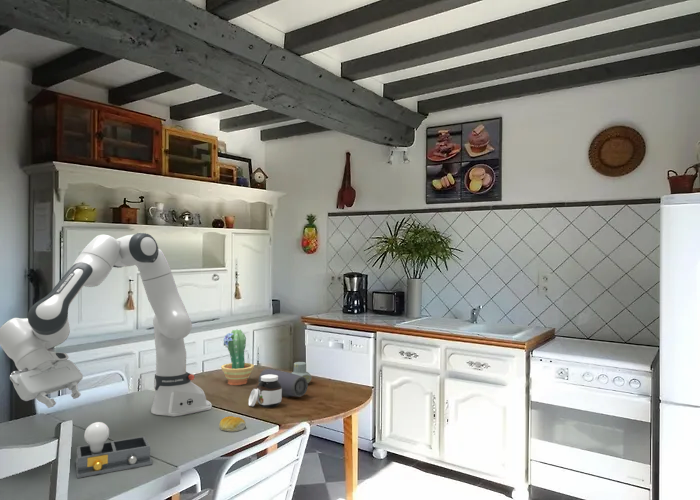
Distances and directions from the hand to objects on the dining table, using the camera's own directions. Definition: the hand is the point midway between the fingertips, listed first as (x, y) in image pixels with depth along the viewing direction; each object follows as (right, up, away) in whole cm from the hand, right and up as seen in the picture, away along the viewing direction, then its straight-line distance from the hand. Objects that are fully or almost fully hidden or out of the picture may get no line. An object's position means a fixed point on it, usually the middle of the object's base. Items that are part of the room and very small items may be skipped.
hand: (65, 401), depth 147 cm
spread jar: (+48, -19, +57) cm, 77 cm away
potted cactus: (+29, -19, +94) cm, 100 cm away
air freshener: (+59, -20, +92) cm, 111 cm away
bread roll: (+41, -19, +30) cm, 55 cm away
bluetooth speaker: (+53, -19, +74) cm, 93 cm away
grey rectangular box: (+15, -17, -1) cm, 23 cm away
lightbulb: (+10, -17, -3) cm, 20 cm away
